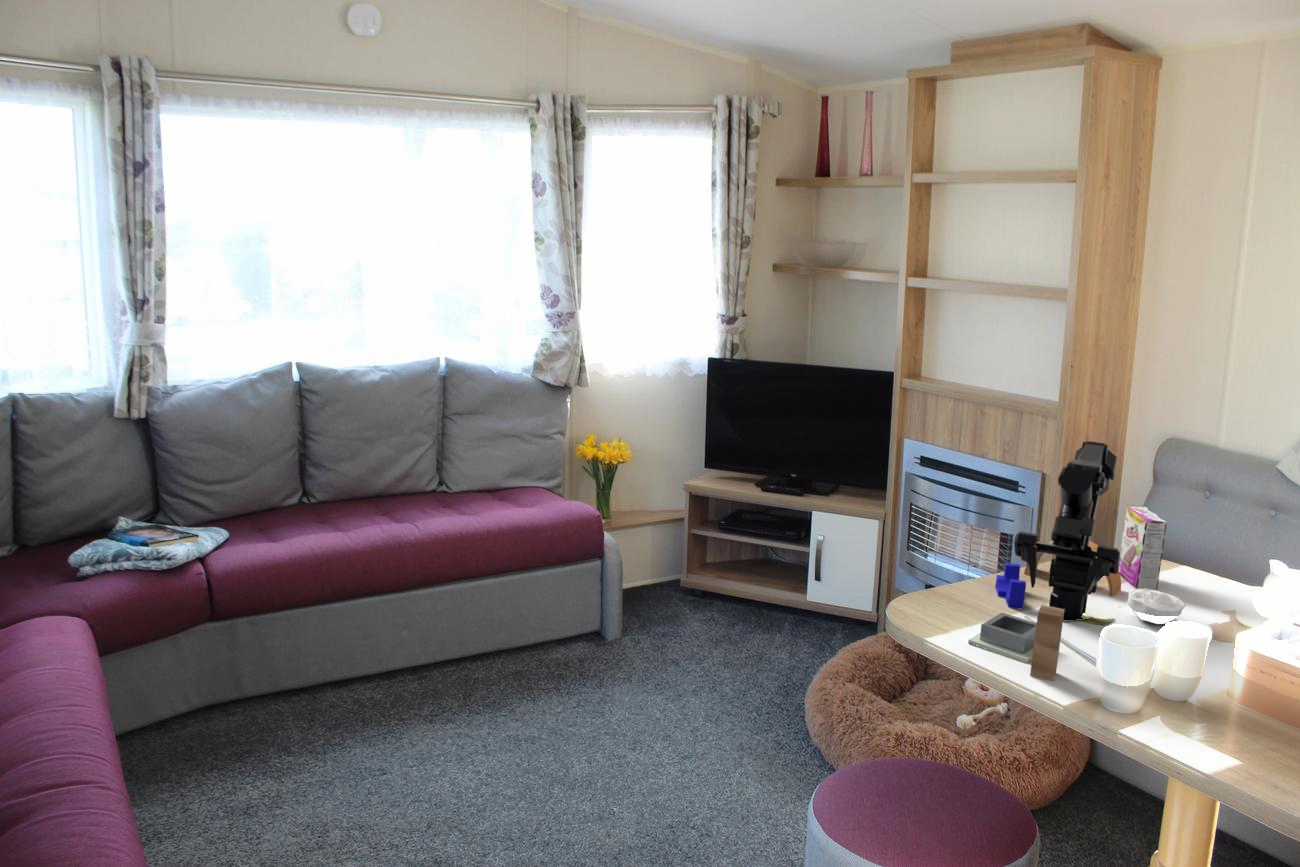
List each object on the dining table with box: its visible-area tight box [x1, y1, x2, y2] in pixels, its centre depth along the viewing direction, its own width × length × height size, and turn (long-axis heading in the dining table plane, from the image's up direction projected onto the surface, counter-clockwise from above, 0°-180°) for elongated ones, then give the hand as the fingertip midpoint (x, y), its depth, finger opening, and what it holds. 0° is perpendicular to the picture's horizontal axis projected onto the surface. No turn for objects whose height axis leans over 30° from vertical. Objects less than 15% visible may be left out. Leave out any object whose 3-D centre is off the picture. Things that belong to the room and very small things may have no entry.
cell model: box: [1127, 588, 1186, 617], centre depth 228 cm, size 10×12×7 cm
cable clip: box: [995, 562, 1027, 610], centre depth 238 cm, size 12×4×6 cm, turn 168°
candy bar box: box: [1118, 505, 1168, 591], centre depth 250 cm, size 11×5×16 cm, turn 179°
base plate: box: [967, 632, 1034, 664], centre depth 214 cm, size 12×12×1 cm
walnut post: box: [1029, 604, 1065, 682], centre depth 201 cm, size 4×4×12 cm
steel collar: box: [979, 612, 1037, 654], centre depth 214 cm, size 9×9×3 cm
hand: (1057, 591), depth 206 cm, fingers open, 9 cm apart
